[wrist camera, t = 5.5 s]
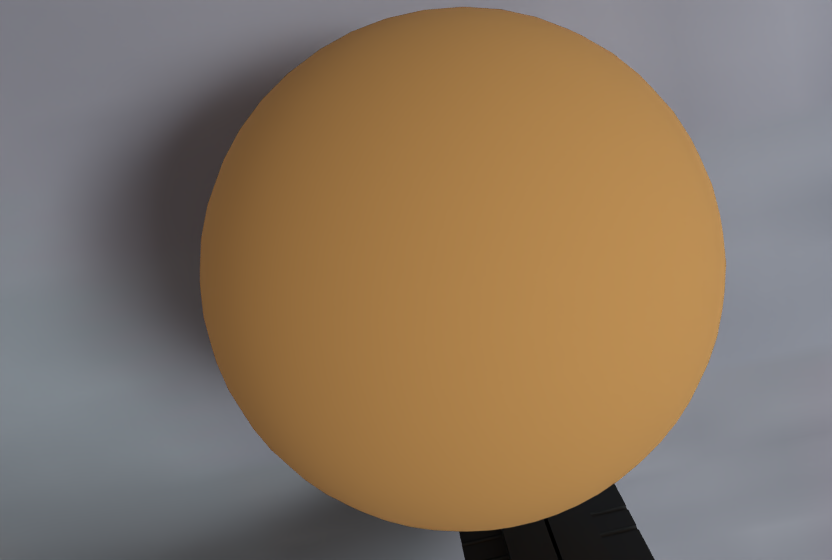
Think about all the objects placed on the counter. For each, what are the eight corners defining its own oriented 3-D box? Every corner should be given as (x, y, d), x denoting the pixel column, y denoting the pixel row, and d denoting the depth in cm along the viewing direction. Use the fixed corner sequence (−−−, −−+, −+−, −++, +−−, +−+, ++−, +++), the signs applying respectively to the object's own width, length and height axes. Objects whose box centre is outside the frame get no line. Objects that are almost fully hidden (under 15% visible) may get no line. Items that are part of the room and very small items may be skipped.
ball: (667, 120, 10) (1036, 283, 5) (478, 386, 12) (586, 706, 7) (345, -92, 8) (359, -216, 3) (186, 265, 10) (19, 578, 5)
